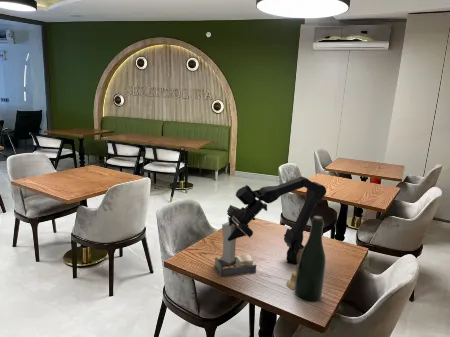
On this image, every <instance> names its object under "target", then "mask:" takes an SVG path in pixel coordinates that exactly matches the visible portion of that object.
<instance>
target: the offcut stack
mask: <svg viewBox="0 0 450 337" xmlns="http://www.w3.org/2000/svg"><path fill="white" fill-rule="evenodd" d="M235 257H236V264H235V267H241V266H249V265H254V260H253V258H252V257H251V256H250V254H243V255H235Z"/></svg>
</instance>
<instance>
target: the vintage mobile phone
mask: <svg viewBox="0 0 450 337" xmlns="http://www.w3.org/2000/svg"><path fill="white" fill-rule="evenodd" d="M230 208H231V207H230ZM229 217H230V222H229V221H227V222H224V223H222V224H221V225H222V226H221V228H222V237H223V238H222V239H223V240H222V255H221V256H220V259H221V260H222V261H225V262H227V263H229V264H230V263H231V262H233V261H235V257H236V246H237V245H236V244H237V243H236V242H237V238H236V239H234V240H231V241H228V240H227V239H228V238H229V236H230V235H231V234H232V232H233V231H234V230H235V225H234V224H231V221H232V217H231V215H230V216H229ZM228 222H229V223H228Z"/></svg>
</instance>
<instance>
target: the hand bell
mask: <svg viewBox="0 0 450 337" xmlns="http://www.w3.org/2000/svg"><path fill="white" fill-rule="evenodd" d="M301 251H302V249H299V252H298V254H297V265H296V269H295V270H294V271H292V273H291V275H290V276H291V277H290V278H289V279H288V280H287V281H286V286H287V287H288V288H289V289H291V290H292V291H295V282H296V275H297V268H298V262H299V257H300V254H301Z"/></svg>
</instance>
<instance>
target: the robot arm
mask: <svg viewBox="0 0 450 337" xmlns="http://www.w3.org/2000/svg"><path fill="white" fill-rule="evenodd" d="M302 188H305V189H306V192H305V197H306V198H305V201H304V203H303V205H302V207H301V209H300V211H299V214H298V216H297V219H296V220H295V223H294V224H293V226H292V227H291V228H286V231H285V234H283V240H284V243H286V246H287V247H288V249H287V251H286V263H287V264H291V265H296V266H297V254H298V252H299V249H303V248H304V246H305V245H303V241H304V230H305V229H306V227H307V224H308V222H309V220H310V218H311V216H312V214H313V211H314V209H315V207H316V205H317V204H318V203H319V202H321V201H323V199H324V197H325V195H326V194H327V188H326V186H325V185H323V184H321V183H319V182H316V181H311V180H310V179H308V178H307V177H304V176H302V175H301V176H299V177H297V178H295V179H292V180H289V181H286V182H283V183H281V184H280V183H279V184H278V185H270V186H263V187H261V188H259V189H256V190H252V189H251V187H250V186H249V185H247V184H246V185H245V186H242V187H241V188H239V189H237V191H236V193H235V197H236V198H237V199H238V200H239V201H240V202H241V203H242V204H244V206H245V207H244V206H243V207H241V208H239V207H236V206H234V205H232V204H229V207H228V209H227V210H226V214H227V219H228V220H227V222H228V223H229V222H230V215H231V217H232V221H231V224H234V225H235V230H234V231H233V232H232V234H231V235H230V236H229V238H228V239H227V240H228V241H231V240H234V239H236V240H237V239H238V238H241V237H246V236H247V237H248V238H251V237H252V236H253V234H254V231H253V230H252V229H251V228H250V225H249V224H250V222H252V221H255V220H256V216H257V215H258V214H259V213H260V212H261V211H262V210H264V211H266V212H267V211H268V204H272V203H274V202H275V201H277V200H278V199H279V198H280V197H282V196H284V195H287V194H289V193H291V192H294V191H298V190H300V189H302ZM263 202H264V203H263ZM230 207H231V208H230Z"/></svg>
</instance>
